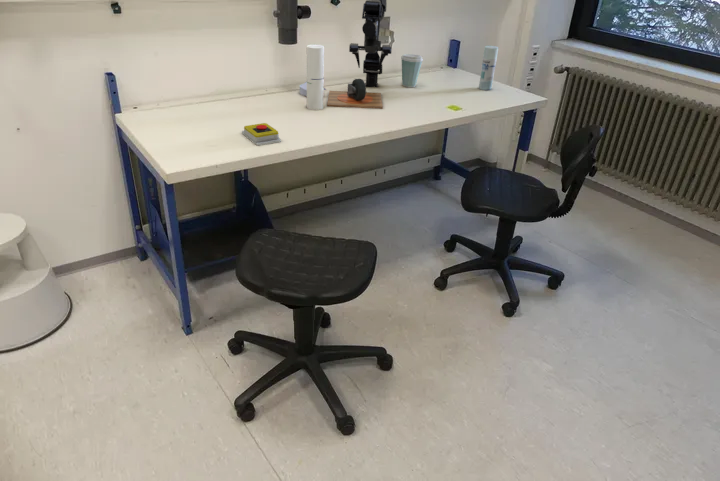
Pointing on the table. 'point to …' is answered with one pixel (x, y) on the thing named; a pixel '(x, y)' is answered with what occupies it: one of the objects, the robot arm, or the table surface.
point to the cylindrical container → (315, 76)
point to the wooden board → (344, 101)
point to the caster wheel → (357, 89)
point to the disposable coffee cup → (410, 69)
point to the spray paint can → (488, 67)
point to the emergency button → (261, 134)
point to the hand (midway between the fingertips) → (369, 68)
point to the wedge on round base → (304, 89)
